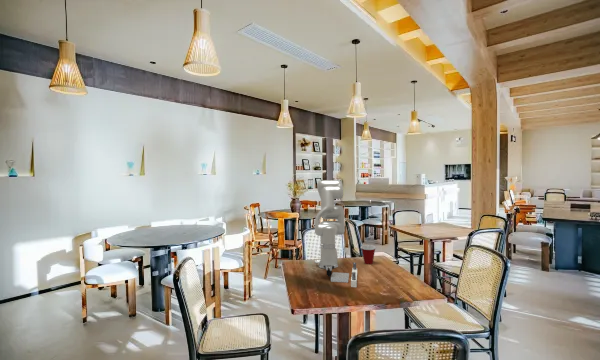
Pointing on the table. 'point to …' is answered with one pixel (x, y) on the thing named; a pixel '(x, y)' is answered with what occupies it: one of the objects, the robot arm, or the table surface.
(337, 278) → the metal plate
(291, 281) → the table surface
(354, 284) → the bar
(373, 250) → the plastic cup
